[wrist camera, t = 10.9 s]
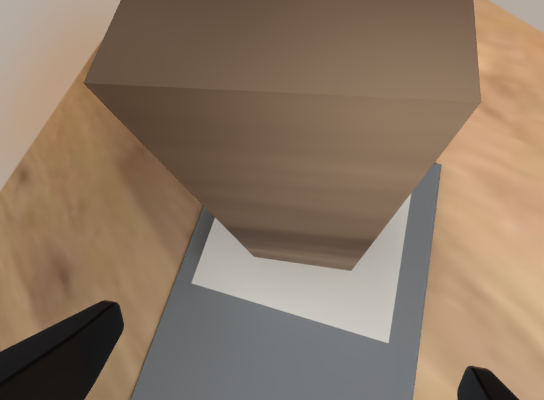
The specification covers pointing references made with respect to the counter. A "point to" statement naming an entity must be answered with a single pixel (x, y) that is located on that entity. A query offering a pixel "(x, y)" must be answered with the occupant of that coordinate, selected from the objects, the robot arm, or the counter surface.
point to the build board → (295, 318)
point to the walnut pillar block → (293, 109)
